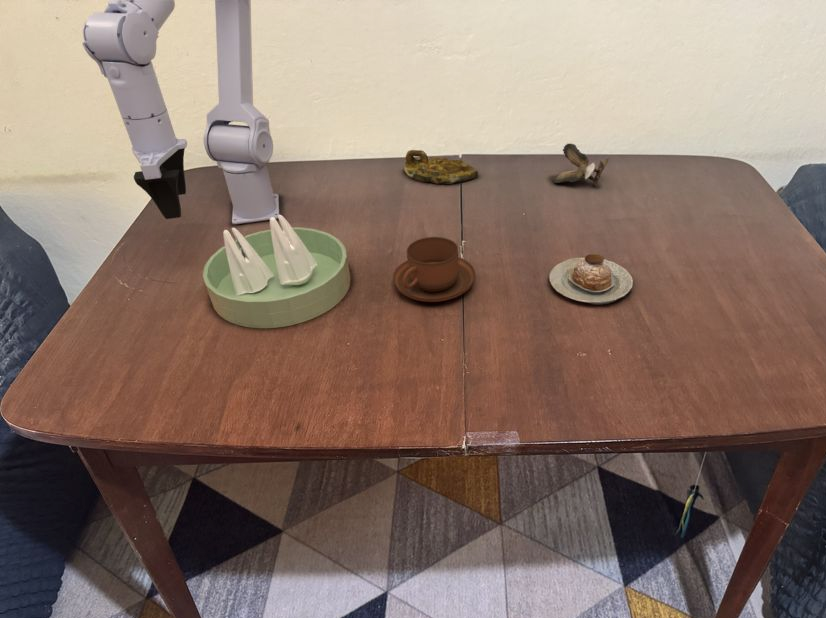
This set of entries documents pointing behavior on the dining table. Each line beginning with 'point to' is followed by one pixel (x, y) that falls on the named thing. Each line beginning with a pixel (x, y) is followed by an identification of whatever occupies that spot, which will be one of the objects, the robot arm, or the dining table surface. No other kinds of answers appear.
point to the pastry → (591, 280)
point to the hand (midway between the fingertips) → (176, 205)
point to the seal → (437, 169)
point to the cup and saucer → (433, 271)
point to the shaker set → (253, 271)
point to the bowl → (275, 299)
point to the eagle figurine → (579, 166)
